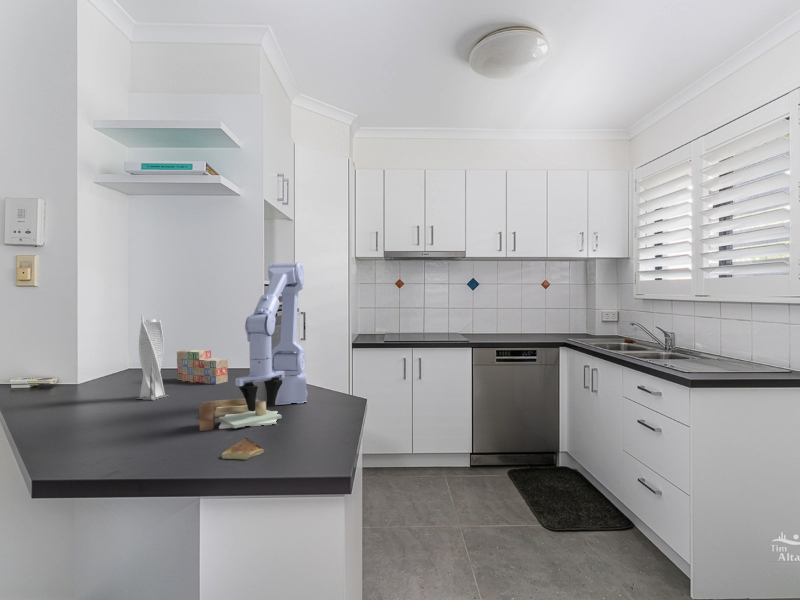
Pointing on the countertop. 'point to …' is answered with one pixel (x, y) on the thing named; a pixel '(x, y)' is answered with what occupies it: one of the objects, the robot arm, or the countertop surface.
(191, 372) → the stack of blocks
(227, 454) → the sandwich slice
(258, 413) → the lid
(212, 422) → the brown rectangular block
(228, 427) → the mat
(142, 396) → the skyscraper
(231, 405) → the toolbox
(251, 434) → the countertop surface
